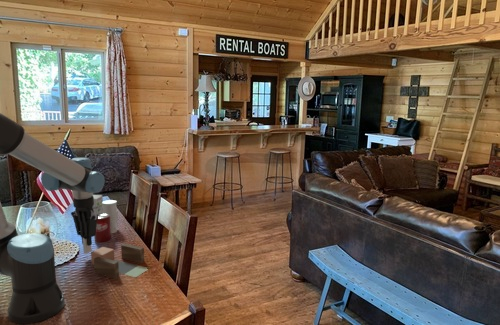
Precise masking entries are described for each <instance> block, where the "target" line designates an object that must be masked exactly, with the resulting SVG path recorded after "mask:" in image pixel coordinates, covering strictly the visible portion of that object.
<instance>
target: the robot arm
mask: <svg viewBox="0 0 500 325" xmlns="http://www.w3.org/2000/svg"><path fill="white" fill-rule="evenodd" d="M0 155H1V156H7V155H10V156H11V157H14V158H15V159H17V160H19V161H20V162H21V161H22V162H23V163H25V164H27V165H29V166H31V167H34V168H35V169H38V170H39V171H41V172H43V173H42V174H41V177H40V181H41V185H42V188H44V189H45V190H46V191H48V192H52V191H58V190H67V191H71V193H72V194H71V195H72V197H73V198H72V204H73V208H74V211H71V212H70V214H71V216H72V219H73V223H74V227H75V230H76V233H77V234H76V235H77V236H80V237H81V243H82V247H83V254H89V253H91V252H93V251H92V243H93V241H92V240H93V238H94V236H95V234H96V226H97V219H98V217H99V215H98V214H97V215H96V214H95V213H94V210H93V208H92V207H93V205H94V197H93V196H92V195H94V194H96V193H99V192H101V191H102V189H103V188H104V185H105V176H104V175H103V174H102V173H101V172H100V171H96V170H93V171H92V169H93V167H92V163H91V159H90V158H89V157H73V158H71V159H70V158H69V157H67V156H66V155H64V154H63V153H61V152H59V151H57V150H55V149H54V148H52V147H50V146H49V145H47V144H46V143H44V142H42V141H40V140H39V139H38V138H36V137H34V136H32V135H30V133H28V132H26V129H25V127H24V126H22V125H21V124H19V123H18V122H17V121H15V120H12V119H11V118H9V117H8V116H6V115H4V114H3V113H1V112H0ZM54 248H55V247H54V244H53V241H52V239H51V237H49V236H48V235H46V234H43V233H39V232H33V233H31V232H30V233H29V232H28V233H22V234H18V231H17V228H16V225H15V224H14V223H12V222H9V221H8V220H7V217H6V214H5V211H4V209H3V206H2V203H1V201H0V275H3V276H7V277H9V278H11V279H10V280H11V286H12V287H11V288H12V289H11V290H12V293H11V297H10V301H9V306H8V308H7V315H8V321H10V322H11V323H13V324H18V325H28V324H35V323H39V322H42V321H45V320H48V319H50V318H52V317H53V316H55V315H57V314H59V312H61V311H62V309H63V308H64V307H65V297H64V293H63V292H62V290H61V288H60V286H59V284H58V283H57V275H56V263H55V262H56V261H55V259H56V258H55V249H54Z"/></svg>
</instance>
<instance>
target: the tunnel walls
mask: <svg viewBox="0 0 500 325" xmlns="http://www.w3.org/2000/svg"><path fill="white" fill-rule="evenodd" d="M120 249H121V251H120V252H121V253H120V254H121V259H122V260H126V261H130V262H134V263H136V264H137V263H139V264H142V263H144V262H145V248H144V247H142V246H138V245H137V246H136V245H133V244H128V243H123V244H121V246H120ZM93 267H94V274H96V275H99V276H103V277H106V278H110V279H114V280H116V279H118V278H119V277H120V273H119V265H118V262H117V261H113V260H109V259H105V258H101V257H96V258H94V266H93Z"/></svg>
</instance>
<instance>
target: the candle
mask: <svg viewBox="0 0 500 325" xmlns="http://www.w3.org/2000/svg"><path fill="white" fill-rule="evenodd" d="M117 202H118V201H117V200H115V199H114V200H113V199H108V200H107V199H106V200H103V202H102V204H103V214H108V215H110V220H111V234H114V233H117V232H118V229H117V228H119V222H118V220H119V212H118V210H117V208H118V207H117Z"/></svg>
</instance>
